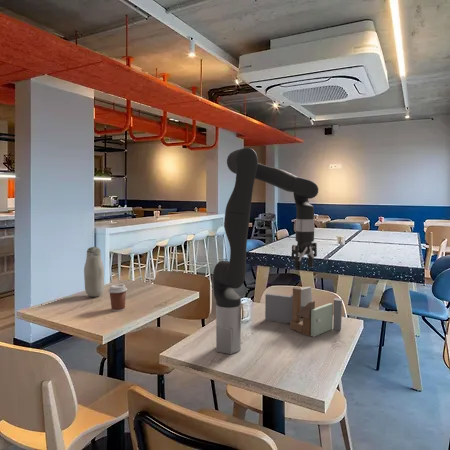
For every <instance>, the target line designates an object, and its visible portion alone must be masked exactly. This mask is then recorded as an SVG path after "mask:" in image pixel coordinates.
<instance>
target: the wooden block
mask: <svg viewBox="0 0 450 450" xmlns="http://www.w3.org/2000/svg"><path fill="white" fill-rule="evenodd" d="M301 288H302V287H297V286H295V287H293V288H292V294H293V304H292V320H291V321H290V323H289V328H290V330H293V331H295V332H297V333H300V334H302V335H305V336H306V337H307V336H308V337H310V336H311V309H314V308H316V301H315V300H314V301H313V300H312V302H309V303H308V304H307V305H306V306H305V307H304V308H303V309H302V310H301ZM301 318H302V321H301ZM311 337H312V336H311Z"/></svg>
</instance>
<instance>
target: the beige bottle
mask: <svg viewBox="0 0 450 450" xmlns="http://www.w3.org/2000/svg"><path fill="white" fill-rule="evenodd" d="M103 263H104V261H103V259H102V252H101V249H100V248H99V247H98V246H90V247H88V248H87V250H86V258H85V263H84V268H83V277H84V290H85V293H86V294H87V296H89V297H90V298H98V297H100V296H102V295H103V293H104V290H105V266H104V264H103Z"/></svg>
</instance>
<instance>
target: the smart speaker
mask: <svg viewBox="0 0 450 450" xmlns="http://www.w3.org/2000/svg"><path fill="white" fill-rule="evenodd" d="M300 288H301V310H302V309H303V308H304V307H305V306H306V305H307V304H308V303H309V302H313V293H312V289H313V288H312V286H309V285H308V286H303V287H300Z"/></svg>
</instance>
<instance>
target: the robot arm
mask: <svg viewBox="0 0 450 450" xmlns="http://www.w3.org/2000/svg"><path fill="white" fill-rule="evenodd" d="M226 165H227V168H228V169H229V171H231V173H233V174H236V175H235V181H234V182H235V183H234V187H233V190H232V192H231V194H230V197H229V199H228V201H227V203H226V205H225V206H226V207H225V212H224V219H223V220H224V222H223V228H224V232H225V235H226V238H227V241H228V243H229V247H230V249H229V251H230V257H229V261H228V260H220V261H218V262H217V263H216V264H215V266H214V269H213V274H212V280H213V281H212V283H213V295H214V299H215V301H216V303H215V318H216V320H215V321H216V322H215V323H216V324H215V327H216V328H215V330H216V331H215V334H216V336H215V341H216V342H215V344H216V346H215V349H216V352H217V353H222V354H227V355H233V354H235V353H238V352H240V350H241V349H242V348H241V347H242V346H241V343H242V342H241V340H242V338H241V337H242V336H241V334H242V333H241V331H242V330H241V329H242V321H241V320H242V316H241V314H242V299H241V296H240V295H239V293H237V292H236V291H235V289H240V288H241V287H242V286H243V284H244V282H245V280H246V273H247V247H248V246H247V245H248V244H247V243H248V235H249V234H248V232H249V226H250V218H251V208H252V207H251V206H252V197H253V192H254V186H255V185H254V184H255V179H256V180H259V181H261V182H264V183H267V184H268V185H272V186H274V187H276V188H279V189H280V190H282V191H286V192H289V193H293V198H294V203H295V207H296V218H295V219H296V220H295V221H296V222H295V238H294V239H295V241H296V242H297V244H296V245H295V244H292V246H291V260H293V261H294V270H295V271H301V270H302V269H301V268H302V267H301V264H302V262H301V261H302V258H303V257H304V256H307V268H310V269H312V268H313V267H314V259H315V257H317V256H318V253H317V252H318V251H317V250H318V248H317V242H314V241H315V218H314V217H315V208H314V205H312V204H311V203H310V202H309V200H310V199H313V198H316V197H317V196H318V195H319V187H318V185H317V183H316V182H315V181H312V180H310V179H307V178H304V177H300V176H297V175H294V174H293V173H290V172H289V171H286V170H284V169H281V168H278V167H274V166H269V165H265V164H262V163H259V158H258V155H257V152H256V151H255V150H254V149H253V148H251V147H244V148H243V147H242V148H240V149H235V150H234V151H231V152H230V153H229V154H228V156H227V158H226Z"/></svg>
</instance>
